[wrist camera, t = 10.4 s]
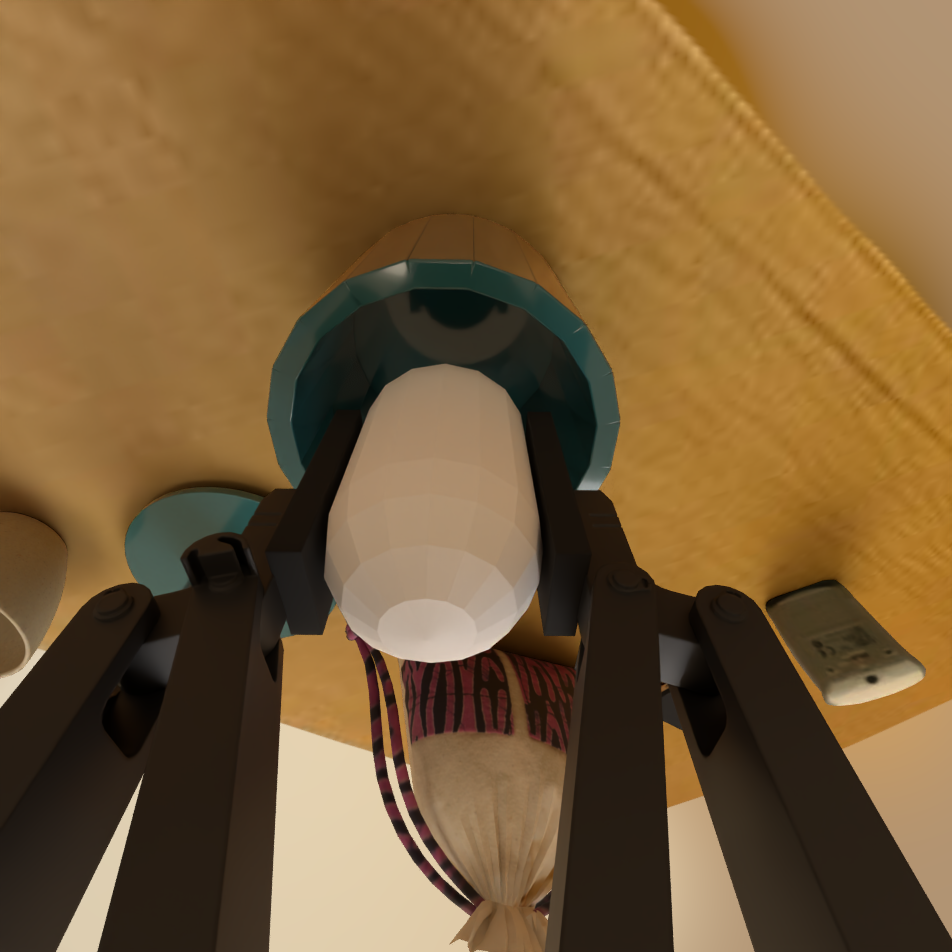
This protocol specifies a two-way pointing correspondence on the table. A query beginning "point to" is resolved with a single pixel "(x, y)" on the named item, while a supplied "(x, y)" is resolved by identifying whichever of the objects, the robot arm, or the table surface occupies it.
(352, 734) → the table surface
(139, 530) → the lid
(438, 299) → the pot
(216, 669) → the robot arm
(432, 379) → the capsule
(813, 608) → the cream tapered case
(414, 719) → the pouch
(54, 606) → the flower pot
